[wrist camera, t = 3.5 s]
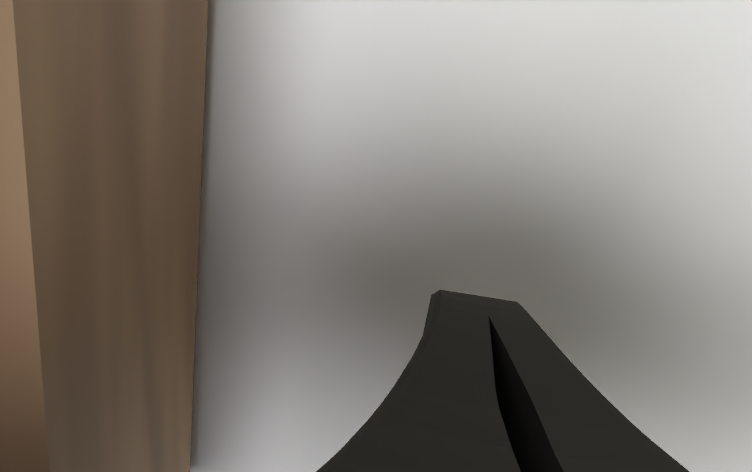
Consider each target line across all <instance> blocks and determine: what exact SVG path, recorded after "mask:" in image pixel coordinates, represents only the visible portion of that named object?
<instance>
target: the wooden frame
mask: <svg viewBox="0 0 752 472" xmlns="http://www.w3.org/2000/svg"><path fill="white" fill-rule="evenodd" d="M207 21H208V0H0V472H190V457H191V431H192V406H193V380H194V354H195V329H196V303H197V277H198V252H199V226H200V200H201V175H202V149H203V124H204V98H205V72H206V47H207Z"/></svg>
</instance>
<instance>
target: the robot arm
mask: <svg viewBox="0 0 752 472" xmlns="http://www.w3.org/2000/svg"><path fill="white" fill-rule="evenodd" d="M316 472H689V471H688V470H687V469H685V468H684V467H683V466H682V465H680V464H679V463H678V462H677V461H676V460H674V459H673V458H672V457H671V456H669V455H668V454H667V453H666V452H665V451H663V450H662V449H661V448H660V447H658V446H657V445H656V444H655V443H654V442H652V441H651V440H650V439H649V438H648V437H647V436H645V435H644V434H643V433H642V432H641V431H640V430H639V429H638V428H636V427H635V426H634V425H633V424H632V423H631V422H630V421H629V420H628V419H627V418H626V417H625V416H624V415H623V414H622V413H621V412H619V411H618V410H617V409H616V408H615V407H614V406H613V405H612V404H611V403H610V402H609V401H608V400H607V399H606V398H605V397H604V396H603V395H602V394H601V393H600V392H599V391H598V390H597V389H596V388H595V387H594V386H593V385H592V384H591V383H590V382H589V381H588V380H587V379H586V378H585V377H584V376H583V374H582V373H581V372H580V371H579V370H578V369H577V368H576V367H575V366H574V365H573V364H572V363H571V362H570V360H569V359H568V358H567V357H566V356H565V355H564V354H563V353H562V352H561V350H560V349H559V348H558V347H557V346H556V345H555V344H554V342H553V341H552V340H551V339H550V338H549V337H548V336H547V334H546V333H545V332H544V331H543V330H542V329H541V328H540V326H539V325H538V324H537V323H536V322H535V321H534V320H533V318H532V317H531V316H530V315H529V314H528V313H527V312H526V311H525V309H524V308H523V307H522V306H521V305H520V304H519V303H518V302H513V301H507V300H501V299H495V298H488V297H482V296H476V295H470V294H463V293H457V292H451V291H445V290H439V291H437V292H436V293H434V294H432V295H431V300H430V304H429V309H428V314H427V319H426V323H425V328H424V333H423V336H422V338H421V340H420V342H419V345H418V347H417V349H416V351H415V353H414V355H413V357H412V358H411V360H410V362H409V363H408V365H407V366H406V368H405V370H404V371H403V373H402V374H401V376H400V378H399V379H398V381H397V382H396V384H395V386H394V387H393V388H392V390H391V391H390V393H389V394H388V395H387V397H386V398H385V399H384V401H383V402H382V403H381V405H380V406H379V407H378V408H377V410H376V411H375V412H374V413H373V415H372V416H371V417H370V418H369V419H368V421H367V422H366V423H365V424H364V425H363V426H362V427H361V428H360V429H359V431H358V432H357V433H356V434H355V435H354V436H353V437H352V438H351V439H350V440H349V441H348V442H347V443H346V445H345V446H344V447H343V448H342V449H341V450H340V451H339V452H337V453H336V454H335V455H334V456H333V457H332V458H331V459H330V460H329V461H328V462H327V463H326V464H325V465H323V466H322V467H321V468H320V469H319V470H317V471H316Z"/></svg>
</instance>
